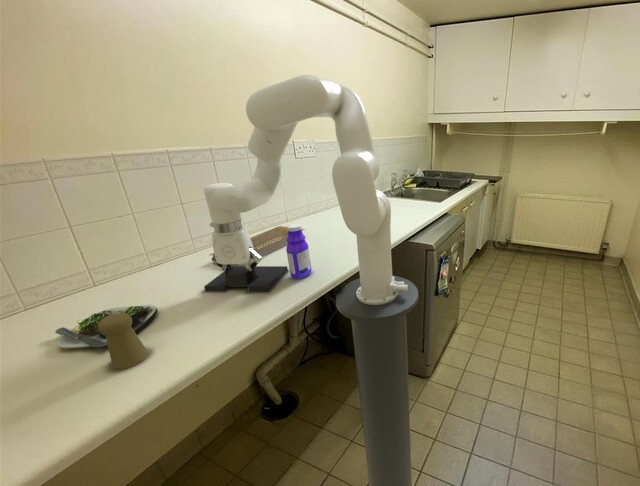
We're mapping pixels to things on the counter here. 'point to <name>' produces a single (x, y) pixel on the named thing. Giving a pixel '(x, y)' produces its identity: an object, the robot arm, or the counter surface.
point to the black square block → (237, 277)
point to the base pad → (262, 283)
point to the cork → (122, 341)
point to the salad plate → (88, 328)
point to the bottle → (297, 252)
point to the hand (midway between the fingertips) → (242, 280)
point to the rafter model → (266, 236)
